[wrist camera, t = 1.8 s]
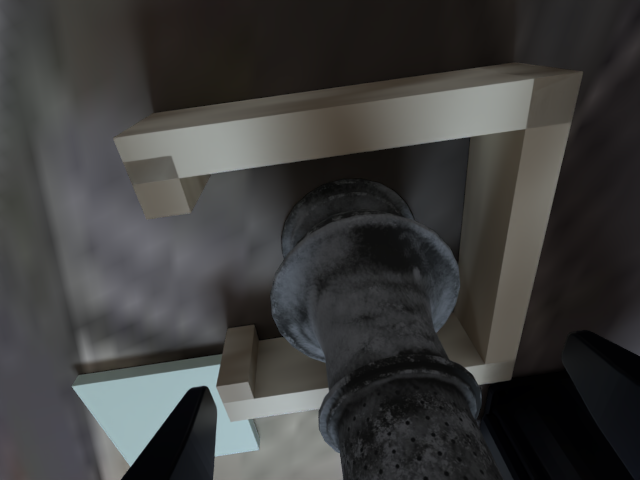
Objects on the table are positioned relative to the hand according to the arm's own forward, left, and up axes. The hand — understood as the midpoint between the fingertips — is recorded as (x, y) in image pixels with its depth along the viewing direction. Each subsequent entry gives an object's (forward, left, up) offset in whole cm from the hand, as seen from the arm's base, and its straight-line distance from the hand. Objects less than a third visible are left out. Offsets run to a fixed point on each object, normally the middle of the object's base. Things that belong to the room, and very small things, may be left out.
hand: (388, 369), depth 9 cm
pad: (+10, +8, -6) cm, 14 cm away
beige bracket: (0, 0, -6) cm, 6 cm away
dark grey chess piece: (0, 0, -6) cm, 6 cm away
